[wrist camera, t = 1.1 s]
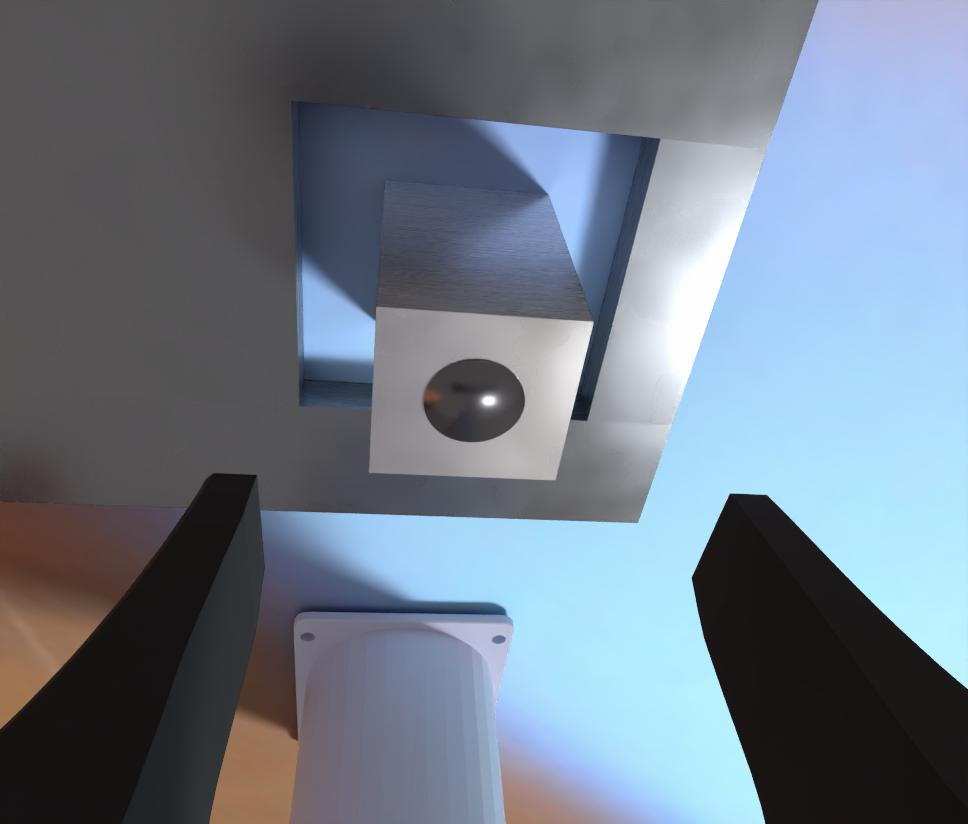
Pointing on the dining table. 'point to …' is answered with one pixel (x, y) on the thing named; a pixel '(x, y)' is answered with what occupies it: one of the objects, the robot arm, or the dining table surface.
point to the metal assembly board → (277, 231)
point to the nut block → (474, 334)
